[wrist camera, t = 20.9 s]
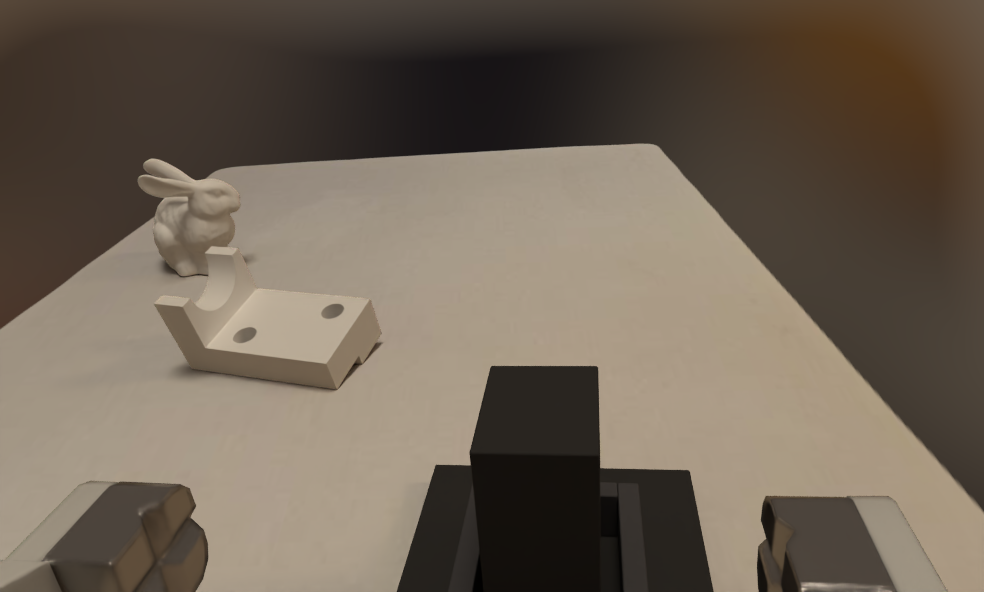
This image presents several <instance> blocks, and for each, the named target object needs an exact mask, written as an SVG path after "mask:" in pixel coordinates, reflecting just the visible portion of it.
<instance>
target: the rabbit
mask: <svg viewBox="0 0 984 592" xmlns="http://www.w3.org/2000/svg"><path fill="white" fill-rule="evenodd" d="M143 168H144V169H145V171H147V172H148V173H150V174H152V175H155V176H158V177H161V178H158V177H154V176H150V175H142V176H139V178H138V184H139V186H140V187H141V189H142V190H144V191H145V192H147V193H148V194H150V195H153V196H156V197H162V198H164V199H163V200H162V201H161V203H160V204H159V206H158V208H157V211H156V215H155V219H154V228H153V234H154V241H155V244H156V246H157V248H158V249H159V253H160V255H161V256H162V257H163V258H164V260H165V261H166V262H167V263H168V264H169V266H170V267H171V268H173V269H174V270H176V272H177V273H178V274H179V275H180V276H191V275H195V274H203V275H209V269H208V262H207V258H206V255H205V252H206V251H207V250H208V249H209V248H210V247H211V246H215V247H230V246H228V244H229V243H230V242H231V241H232V239H233V237H234V234H235V223H234V221H233V219H232V217H231V216H230V213H233V212H236V211H237V210H239V208H240V205H241V204H240V195H239V193H238V192H237V191H236V190H235V189H234V188H233V187H232V186H231V185H229V184H228V183H226V182H223V181H221V180H217V179H203V180H198V181H195V180H193V179H192V178H190V177H189V176H187V175H186V174H185V173H183V172H182V171H180V170H179V169H177V168H175V167H173V166H171V165H170V164H168V163H166V162H163V161H161V160H158V159H150V160H147V161H146V162H145V163H144V164H143ZM230 248H231V247H230Z"/></svg>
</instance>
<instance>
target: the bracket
mask: <svg viewBox="0 0 984 592" xmlns="http://www.w3.org/2000/svg"><path fill="white" fill-rule="evenodd" d="M205 255H206V258H207V262H208V269H209V275H208V282H207V285H206V288H205V291H204V293H203V294H202V296H201V297H200V299H199V300H198V301H197V302H196V303H193V301H192V300H191V298H183V297H173V296H163V295H162V296H161V297H160V298H159V299H158V300H157V301H156V302H155V303H154V305H155V307H156V308H157V310H158V312H159V314H160V315H161V317H162V319H163V320H164V322H165V324H166V326H167V327H168V329H169V331H170V332H171V334H172V336H173V337H174V339H175V341H176V343H177V344H178V346H179V348H180V349H181V351H182V353H183V355H184V356H185V358H186V360H187V361H188V363H189V365H190V367H191V368H192V369H196V370H203V371H210V372H217V373H224V374H231V375H238V376H245V377H252V378H259V379H266V380H273V381H280V382H287V383H294V384H301V385H308V386H315V387H322V388H329V389H336V390H337V389H338V388H339V386H340V384H341V383H342V381H343V380H344V378H345V377H346V375H347V373H348V372H349V370H350V369H351V367H352V366H353V364H354V363H356V364H363V362H364V361H365V359H366V358H367V356H368V354H369V353H370V351H371V350H372V348H373V346H374V345H375V343H376V342H377V340H378V338H379V337H380V335H381V334H382V332H381V329H380V326H379V323H378V320H377V317H376V314H375V311H374V308H373V306H372V303H371V300H370V299H367V298H357V297H346V296H335V295H324V294H313V293H302V292H291V291H280V290H270V289H259V288H257V287H256V285H255V283H254V280H253V278H252V276H251V274H250V272H249V269H248V267H247V265H246V263H245V261H244V259H243V256H242V254H241V252H240V250H239V248H230V247H215V246H211V247H210V248H209V249H208V250H207V251H206V252H205Z"/></svg>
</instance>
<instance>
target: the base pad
mask: <svg viewBox="0 0 984 592" xmlns="http://www.w3.org/2000/svg"><path fill="white" fill-rule="evenodd" d="M600 515H601V592H713V587H712V582H711V577H710V572H709V567H708V561H707V556H706V551H705V546H704V541H703V536H702V531H701V526H700V521H699V516H698V511H697V506H696V501H695V496H694V491H693V486H692V481H691V476H690V471H688V470H649V469H604V468H600ZM397 592H484V591H483V581H482V571H481V561H480V551H479V541H478V531H477V521H476V511H475V501H474V491H473V482H472V472H471V466H466V465H436V466H435V469H434V473H433V476H432V479H431V482H430V486H429V489H428V492H427V495H426V499H425V502H424V505H423V508H422V512H421V515H420V518H419V521H418V525H417V528H416V531H415V534H414V538H413V541H412V544H411V547H410V551H409V554H408V557H407V560H406V564H405V567H404V570H403V573H402V577H401V580H400V583H399V586H398V590H397Z"/></svg>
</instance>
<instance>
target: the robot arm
mask: <svg viewBox="0 0 984 592" xmlns="http://www.w3.org/2000/svg"><path fill="white" fill-rule="evenodd" d="M195 507H196V504H195V502H194V499H193V496H192V494H191V491H190V488H188V487H185V486H183V485H181V484H164V483H142V482H106V481H89V482H86V483H83V484H80V485H78V486H77V487H76V488H75V489H74V490H73V491H72V492H71V493H70V494H69V495H68V496H67V497H66V498H65V499H64V500H63V501H62V502H61V503H60V504H59V505H58V506H57V507H56V508H55V509H54V510H53V511H52V512H51V513H50V514H49V515H48V516H47V518H46V519H45V520H44V521H43V522H42V523H41V524H40V525H39V526H38V527H37V528H36V529H35V530H34V531H33V532H32V533H31V534H30V535H29V536H28V537H27V538H26V539H25V540H24V541H23V542H22V543H21V544H20V545H19V546H18V547H17V548H16V549H15V550H14V551H13V552H12V553H11V554H10V555H9V556H8V557H7V558H6V559H5V560H0V592H196V590H197V588H198V587H199V585H200V583H201V582H202V580H203V577H204V573H205V569H206V566H207V562H208V542H207V539H206V536H205V532H204V530H203V529H202V528H201V527H200V526H199V525H198V524H197V523H196V522H195V521H194V520H192V519H191V518H190V517H191V515H192V513H193V511H194V509H195ZM761 522H762V525H763V528H764V532H765V535H766V538H767V539H766V540H764V541H763V542H762V543H761V544H760V545H759V546H758V560H757V574H758V589H759V592H948V591H947V589H946V587H945V586H944V584H943V582H942V580H941V579H940V577H939V575H938V574H937V572H936V570H935V568H934V567H933V565H932V563H931V561H930V560H929V558H928V556H927V555H926V553H925V551H924V549H923V548H922V546H921V544H920V542H919V541H918V539H917V537H916V536H915V534H914V532H913V530H912V529H911V527H910V525H909V524H908V522H907V520H906V518H905V517H904V515H903V513H902V511H901V510H900V508H899V506H898V505H897V503H896V501H895V500H893V499H892V498H890V497H889V496H847V497H808V496H766V497H765V499H764V502H763V507H762V516H761Z"/></svg>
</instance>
